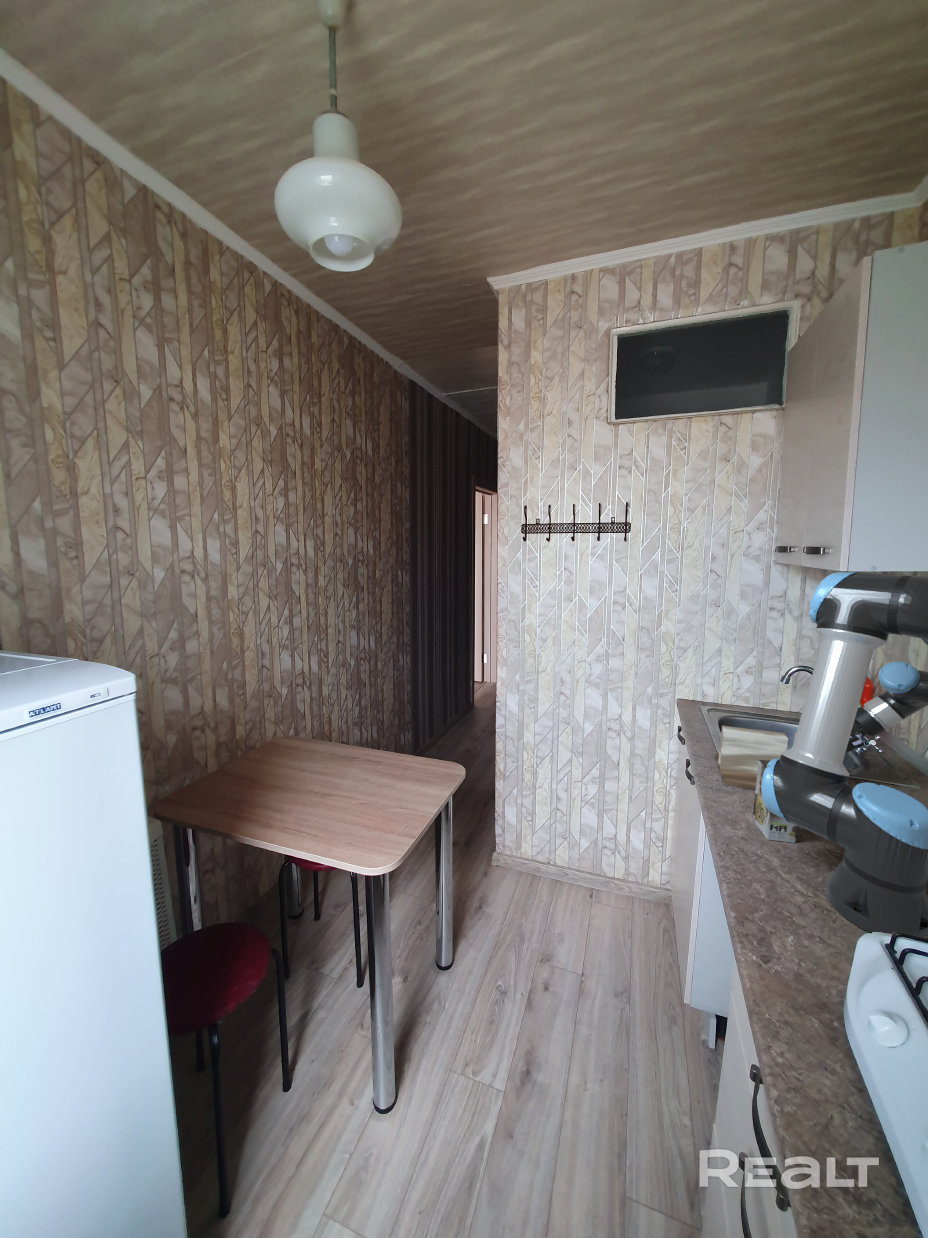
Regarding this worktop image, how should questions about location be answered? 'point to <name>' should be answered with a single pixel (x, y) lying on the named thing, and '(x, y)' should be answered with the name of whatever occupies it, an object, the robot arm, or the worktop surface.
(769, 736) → the beige and brown block
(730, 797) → the worktop surface
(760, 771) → the coffee box
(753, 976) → the worktop surface
